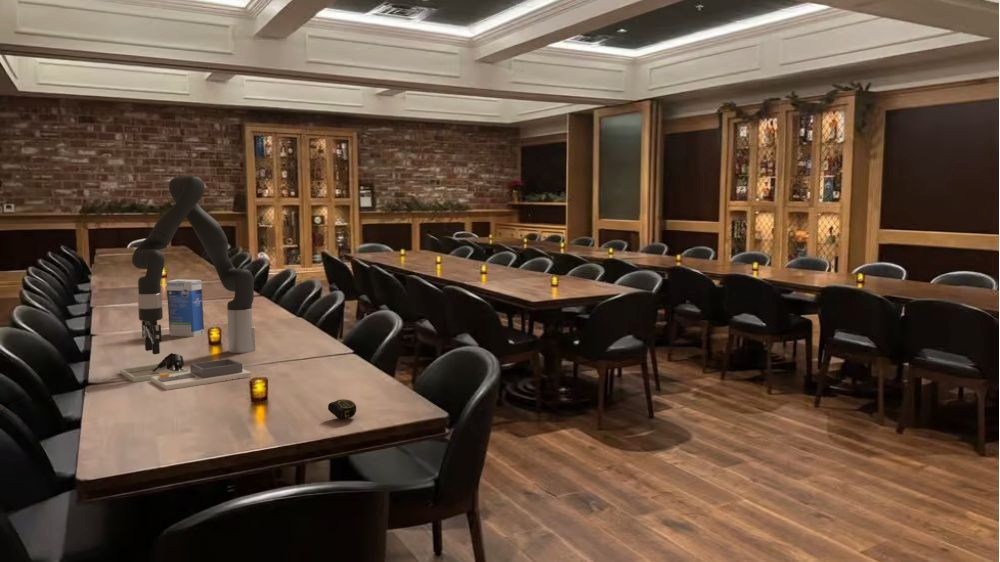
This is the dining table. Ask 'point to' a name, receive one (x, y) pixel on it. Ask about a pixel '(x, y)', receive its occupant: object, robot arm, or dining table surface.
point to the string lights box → (185, 307)
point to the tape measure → (342, 408)
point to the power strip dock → (202, 374)
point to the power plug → (171, 362)
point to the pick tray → (141, 368)
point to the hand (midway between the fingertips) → (152, 352)
